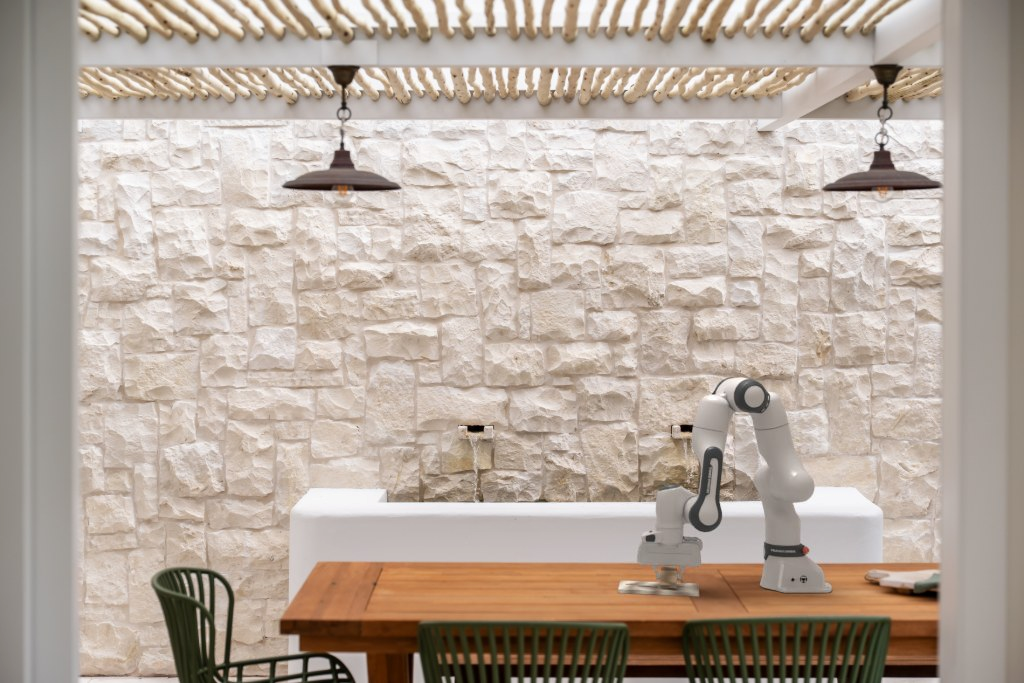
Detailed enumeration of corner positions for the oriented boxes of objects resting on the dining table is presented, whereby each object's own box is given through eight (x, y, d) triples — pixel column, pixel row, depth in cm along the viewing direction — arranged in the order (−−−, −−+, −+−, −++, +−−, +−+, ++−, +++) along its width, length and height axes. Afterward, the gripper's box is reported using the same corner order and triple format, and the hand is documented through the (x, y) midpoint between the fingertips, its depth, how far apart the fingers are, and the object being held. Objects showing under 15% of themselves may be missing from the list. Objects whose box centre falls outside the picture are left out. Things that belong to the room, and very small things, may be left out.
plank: (698, 587, 356) (698, 583, 356) (699, 596, 344) (699, 592, 344) (620, 584, 360) (620, 580, 360) (618, 593, 347) (618, 588, 347)
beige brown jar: (676, 582, 355) (677, 566, 355) (676, 588, 346) (677, 572, 346) (660, 581, 356) (660, 565, 356) (660, 587, 347) (660, 571, 347)
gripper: (702, 535, 353) (701, 579, 353) (637, 533, 356) (637, 576, 356) (702, 538, 347) (702, 583, 347) (637, 536, 349) (636, 580, 349)
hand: (668, 579), depth 351 cm, fingers closed on beige brown jar, 5 cm apart
